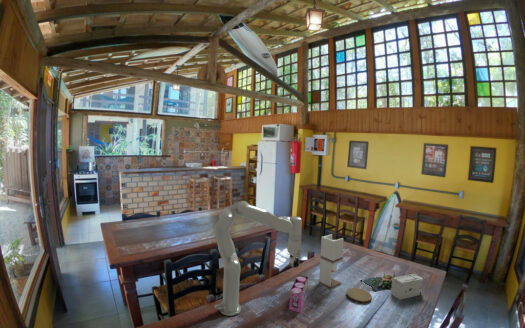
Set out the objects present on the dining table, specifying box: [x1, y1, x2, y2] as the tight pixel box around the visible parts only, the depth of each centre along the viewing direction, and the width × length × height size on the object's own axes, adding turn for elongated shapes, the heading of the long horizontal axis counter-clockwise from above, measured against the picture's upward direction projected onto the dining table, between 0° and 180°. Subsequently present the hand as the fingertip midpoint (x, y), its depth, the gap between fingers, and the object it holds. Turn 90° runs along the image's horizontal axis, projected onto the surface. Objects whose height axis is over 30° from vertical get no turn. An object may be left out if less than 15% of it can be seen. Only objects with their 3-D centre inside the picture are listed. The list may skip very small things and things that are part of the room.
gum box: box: [288, 274, 309, 313], centre depth 172 cm, size 22×7×13 cm, turn 160°
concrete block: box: [390, 271, 424, 300], centre depth 184 cm, size 21×8×20 cm, turn 111°
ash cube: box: [288, 256, 297, 268], centre depth 170 cm, size 4×4×4 cm
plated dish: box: [363, 271, 396, 293], centre depth 200 cm, size 35×28×7 cm
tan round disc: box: [345, 287, 373, 305], centre depth 180 cm, size 16×16×3 cm
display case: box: [318, 233, 344, 290], centre depth 195 cm, size 11×11×35 cm
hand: (294, 264), depth 170 cm, fingers closed on ash cube, 4 cm apart
